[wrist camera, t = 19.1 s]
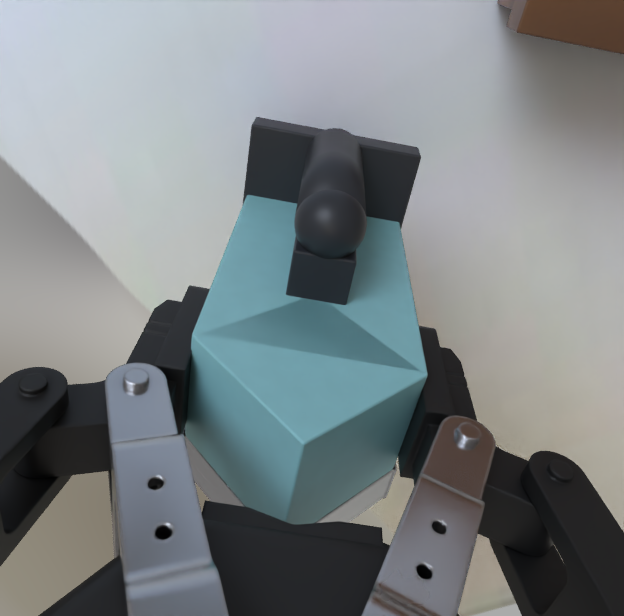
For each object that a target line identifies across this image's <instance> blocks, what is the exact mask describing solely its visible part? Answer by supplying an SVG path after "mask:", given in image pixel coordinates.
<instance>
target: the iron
mask: <svg viewBox="0 0 624 616" xmlns="http://www.w3.org/2000/svg"><path fill="white" fill-rule="evenodd" d="M420 159H421V155H420V153H419V150H418V148H417V147H413V146H407V145H402V144H397V143H391V142H386V141H381V140H376V139H370V138H365V137H360V136H355V135H352V134H350V133H349V132H347V131H345V130H342V129H336V128H333V129H327V130H323V129H318V128H312V127H307V126H302V125H297V124H291V123H286V122H281V121H275V120H270V119H265V118H260V117H256V119H255V121H254V122H253V124H252V128H251V137H250V146H249V154H248V163H247V172H246V181H245V190H244V199H243V206H242V209H241V211H240V214H239V217H238V219H237V222H236V224H235V227H234V229H233V232H232V234H231V237H230V239H229V242H228V245H227V247H226V250H225V252H224V255H223V257H222V260H221V262H220V265H219V267H218V270H217V272H216V275H215V278H214V280H213V283H212V285H211V288H210V290H209V293H208V295H207V298H206V300H205V303H204V306H203V308H202V311H201V313H200V316H199V318H198V321H197V323H196V326H195V328H194V331H193V333H192V340H191V350H192V357H191V371H190V384H189V398H188V411H187V422H186V425H185V428H184V431H183V435H184V438H185V441H186V446H187V450H188V455H189V459H190V464H191V468H192V472H193V477H194V481H195V482H196V484H197V485H198V486H199V487H200V489H201V490H202V491H203V492H204V494H205V495H206V496H207V497H208V499H210V501H211V502H217V503H224V504H230V505H237V506H243V507H249V508H252V509H254V510H257V511H259V512H262V513H265V514H267V515H270V516H272V517H275V518H277V519H280V520H282V521H285V522H287V523H290V524H310V523H323V522H336V521H341V522H347V523H349V522H350V521H352V520H353V519H354V518H356V517H357V516H358V515H360V514H361V513H363V512H364V511H365V510H367V509H368V508H370V507H371V506H372V505H374V504H375V503H377V502H378V501H379V500H381V499H382V498H386V497H387V494H388V492H389V489H390V486H391V484H392V481H393V478H394V476H395V473H396V470H397V469H396V460H397V457H398V453H399V451H400V448H401V445H402V443H403V440H404V437H405V434H406V432H407V429H408V426H409V424H410V421H411V418H412V416H413V413H414V410H415V408H416V405H417V402H418V399H419V397H420V394H421V391H422V389H423V387H424V384H425V381H426V378H427V376H428V373H427V368H426V363H425V357H424V352H423V347H422V341H421V336H420V330H419V325H418V320H417V314H416V309H415V304H414V298H413V293H412V288H411V282H410V277H409V272H408V266H407V261H406V256H405V250H404V245H403V240H402V234H401V226H402V223H403V219H404V216H405V212H406V209H407V205H408V202H409V198H410V195H411V191H412V187H413V184H414V180H415V177H416V173H417V170H418V166H419V163H420Z"/></svg>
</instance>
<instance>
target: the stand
mask: <svg viewBox="0 0 624 616" xmlns="http://www.w3.org/2000/svg"><path fill="white" fill-rule="evenodd" d="M498 4H499V5H501V6H504V7H506V8H509V9H511V13H510V16H509V20H508V23H507V27H508V28H510V29H511V30H513V31H515V32H517V33H521V34H526V35H531V36H536V37H541V38H546V39H551V40H555V41H560V42H565V43H570V44H575V45H580V46H585V47H590V48H595V49H600V50H604V51H609V52H614V53H619V54H624V0H498Z"/></svg>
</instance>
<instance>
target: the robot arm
mask: <svg viewBox="0 0 624 616" xmlns="http://www.w3.org/2000/svg"><path fill="white" fill-rule="evenodd" d="M209 290H210V289H207V288H201V287H196V286H189V287H188V289H187V292H186V294H185V296H184V298H183V301H182V302H178V301H172V300H166V301H165V302H163V303H162V304H161V305H159V306H158V307H156V308H155V309H154V311H153V313H152V315H151V317H150V319H149V322H148V323H147V324H146V327H145V328H144V332H142V334H141V336H140V338H139V340H138V342H137V344H136V346H135V348H134V350H133V351H132V353H131V355H130V357H129V359H128V361H127V363H126V364H124V365H122V366H119V367H117V368H115V369H114V370H112V371H111V372H110V373H109V374H108V376H107V377H106V380H104V381H101V382H97V383H88V384H73V385H68V384H67V380H66V378H65V377H64V375H63V374H62V373H60V372H59V371H57V370H54V369H51V368H45V367H33V368H27V369H24V370H20V371H18V372H15V373H13V374H11V375H10V376H8V377H7V378H6V379H5V380H3V382H1V383H0V566H1V565H2V564H3V562H4V561H5V560H6V559H7V557H8V556H9V555H10V553H11V552H12V551H13V550H14V548H15V547H16V546H17V545H18V543H19V542H20V541H21V540H22V538H23V537H24V536H25V535H26V533H27V532H28V531H29V530H30V528H31V527H32V526H33V524H34V523H35V522H36V521H37V519H38V518H39V517H40V516H41V514H42V513H43V512H44V511H45V509H46V508H47V507H48V506H49V504H50V503H51V501H52V500H53V499H54V498H55V496H56V495H57V494H58V493H59V491H60V490H61V489H62V488H63V486H64V485H65V484H66V483H67V481H68V480H69V479H70V477H71V476H72V475H76V474H85V473H93V472H102V471H108V478H109V491H110V503H111V515H112V528H113V545H114V559H113V560H112V561H110V562H109V563H108V564H106V565H105V566H104V567H102V568H101V569H100V570H98V571H97V572H96V573H94V574H93V575H92V576H90V577H89V578H88V579H87V580H85V581H84V582H83V583H81V584H80V585H79V586H77V587H76V588H75V589H73V590H72V591H71V592H69V593H68V594H67V595H65V596H64V597H63V598H61V599H60V600H59V601H57V602H56V603H55V604H53V605H52V606H51V607H50V608H48V609H47V610H46V611H44V612H43V613H41V614H40V615H39V616H459V614H458V613H457V612H458V608H459V604H460V600H461V597H462V593H463V589H464V585H465V581H466V577H467V573H468V569H469V565H470V562H471V558H472V554H473V550H474V546H475V542H476V538H477V534H480V535H483V536H485V537H487V538H489V540H490V544H491V546H492V549H493V551H494V553H495V555H496V558H497V560H498V562H499V564H500V567H501V569H502V571H503V573H504V576H505V578H506V580H507V583H508V585H509V587H510V589H511V592H512V594H513V596H514V598H515V601H516V603H517V605H518V607H519V610H520V612H521V614H522V616H624V532H623V531H622V529H621V528H620V526H619V525H618V523H617V521H616V520H615V518H614V517H613V515H612V514H611V512H610V511H609V509H608V508H607V506H606V505H605V503H604V502H603V500H602V499H601V497H600V496H599V494H598V493H597V491H596V490H595V488H594V487H593V485H592V484H591V482H590V481H589V479H588V478H587V476H586V475H585V473H584V472H583V471H582V469H581V468H580V467H579V466H578V465H576V464H575V463H574V462H573V461H571V460H570V459H568V458H567V457H565V456H563V455H560V454H558V453H555V452H550V451H539V452H536V453H534V454H533V455H532V456H531V458H530V459H529V461H527V460H524V459H522V458H520V457H517V456H515V455H512V454H510V453H508V452H505V451H503V450H501V449H500V448H498V447H496V444H495V440H494V437H493V435H492V434H491V432H490V431H489V430H488V429H487V428H486V427H485V426H483V425H482V424H481V423H479V422H478V421H477V419H476V415H475V412H474V408H473V404H472V401H471V397H470V393H469V390H468V388H467V382H466V379H465V377H464V372H463V368H462V364H461V361H460V360H459V359H458V358H457V356H456V355H455V354H454V353H453V351H452V350H451V349H448V348H442V347H440V345H439V341H438V337H437V332H436V330H435V329H434V328H428V327H422V326H419V330H420V336H421V341H422V347H423V352H424V357H425V363H426V368H427V373H428V376H427V378H426V381H425V384H424V387H423V389H422V391H421V394H420V397H419V399H418V402H417V405H416V408H415V410H414V413H413V416H412V418H411V421H410V424H409V426H408V429H407V432H406V434H405V437H404V440H403V443H402V445H401V448H400V451H399V453H398V460H399V470H400V477H406V478H412V479H414V488H413V491H412V493H411V496H410V498H409V501H408V503H407V505H406V508H405V510H404V513H403V515H402V518H401V520H400V522H399V525H398V527H397V530H396V532H395V535H394V537H393V539H392V542H391V544H390V545H387V544H385V543H383V539H382V528H379V527H373V526H367V525H360V524H353V523H347V522H341V521H336V522H323V523H310V524H290V523H287V522H285V521H282V520H280V519H277V518H275V517H272V516H270V515H267V514H265V513H262V512H259V511H257V510H254V509H252V508H249V507H243V506H237V505H230V504H224V503H217V502H211V501H205V503H204V507H203V511H202V512H201V508H200V504H199V499H198V495H197V490H196V486H195V481H194V477H193V472H192V468H191V464H190V459H189V455H188V450H187V446H186V441H185V438H184V435H183V431H184V428H185V425H186V422H187V411H188V398H189V384H190V371H191V357H192V350H191V340H192V333H193V331H194V328H195V326H196V323H197V321H198V318H199V316H200V313H201V311H202V308H203V306H204V303H205V300H206V298H207V295H208V293H209ZM554 545H555V546H554ZM555 547H556V548H557V550H558V552H559V553H558V552H557V550H556V548H555ZM559 554H560V555H559ZM560 556H561V557H560ZM561 558H562V559H561ZM562 560H563V561H562ZM563 562H564V563H563Z"/></svg>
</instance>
